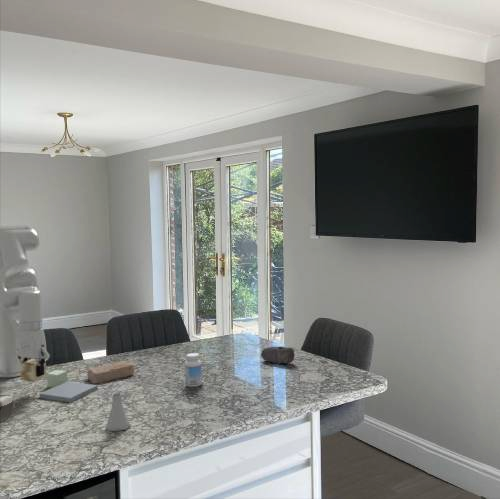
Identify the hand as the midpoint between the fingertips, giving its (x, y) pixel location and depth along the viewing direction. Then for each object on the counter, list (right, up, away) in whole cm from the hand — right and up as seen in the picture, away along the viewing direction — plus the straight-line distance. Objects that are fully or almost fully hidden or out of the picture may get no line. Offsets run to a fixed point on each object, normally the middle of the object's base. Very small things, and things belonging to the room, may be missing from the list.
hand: (33, 373), depth 192 cm
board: (+13, -7, 0) cm, 15 cm away
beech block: (0, -2, 0) cm, 2 cm away
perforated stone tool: (+89, -3, +31) cm, 94 cm away
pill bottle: (+57, -5, +5) cm, 57 cm away
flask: (+38, -9, -32) cm, 51 cm away
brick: (+23, -6, +18) cm, 30 cm away
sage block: (+5, -7, +10) cm, 13 cm away
